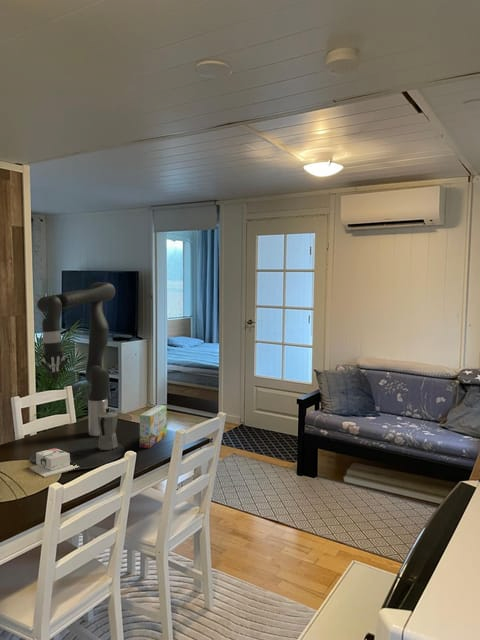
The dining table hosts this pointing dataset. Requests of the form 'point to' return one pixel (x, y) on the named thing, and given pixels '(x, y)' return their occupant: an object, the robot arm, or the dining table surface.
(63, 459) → the ink box
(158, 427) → the snack box
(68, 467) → the mat
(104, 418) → the coffeepot
